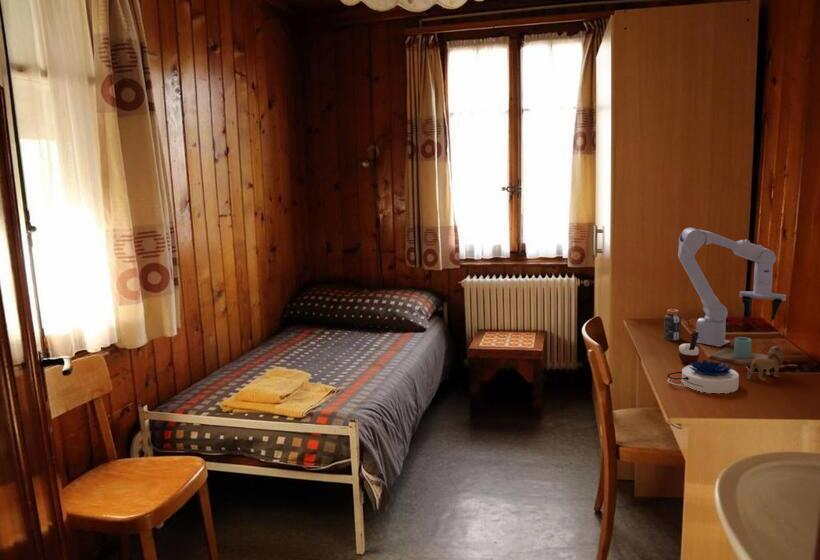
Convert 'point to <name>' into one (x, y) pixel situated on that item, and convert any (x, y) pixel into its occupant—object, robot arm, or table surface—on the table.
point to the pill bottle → (672, 325)
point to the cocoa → (689, 350)
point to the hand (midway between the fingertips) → (761, 318)
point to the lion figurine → (767, 363)
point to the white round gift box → (708, 377)
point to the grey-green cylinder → (742, 347)
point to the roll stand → (728, 356)
